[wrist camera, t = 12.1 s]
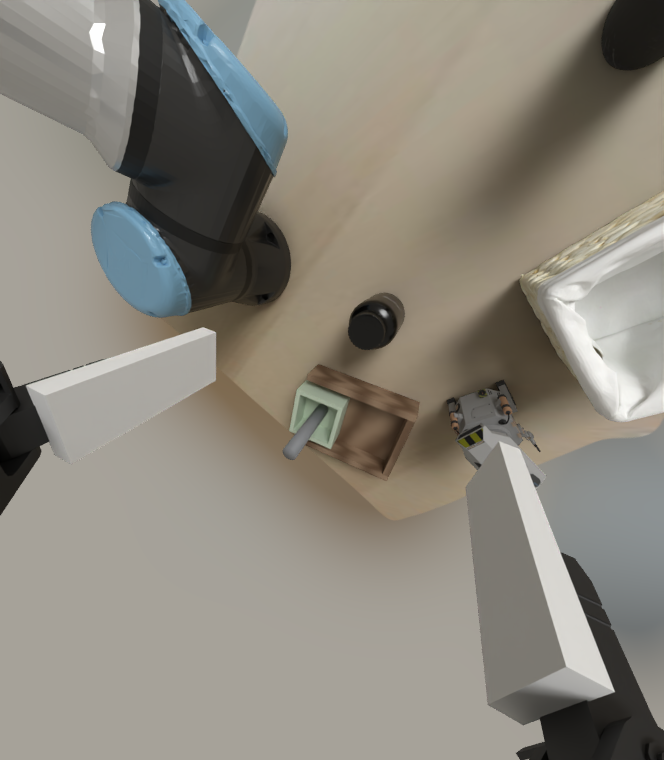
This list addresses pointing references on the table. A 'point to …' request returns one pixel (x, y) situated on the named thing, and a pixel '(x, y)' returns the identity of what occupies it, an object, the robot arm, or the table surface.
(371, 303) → the supplement bottle
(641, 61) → the travel mug
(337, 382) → the bay
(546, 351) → the table surface
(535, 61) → the table surface
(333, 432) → the green box with handle
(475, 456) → the figurine
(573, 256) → the storage basket
